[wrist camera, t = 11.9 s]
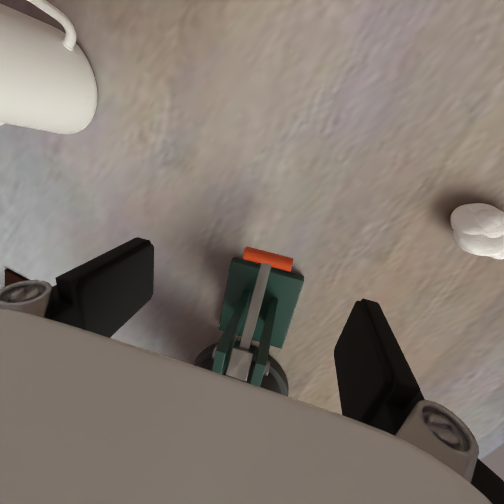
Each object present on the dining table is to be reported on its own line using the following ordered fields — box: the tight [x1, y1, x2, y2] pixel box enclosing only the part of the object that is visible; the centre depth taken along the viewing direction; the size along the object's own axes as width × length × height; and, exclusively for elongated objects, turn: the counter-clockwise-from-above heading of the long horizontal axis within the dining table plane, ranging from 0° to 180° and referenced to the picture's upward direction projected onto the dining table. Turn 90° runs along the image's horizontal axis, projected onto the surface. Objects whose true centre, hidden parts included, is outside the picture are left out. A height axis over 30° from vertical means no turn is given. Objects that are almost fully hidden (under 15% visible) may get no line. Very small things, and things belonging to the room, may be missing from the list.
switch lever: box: [226, 247, 293, 381], centre depth 25 cm, size 13×5×2 cm, turn 168°
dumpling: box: [451, 203, 504, 259], centre depth 24 cm, size 7×5×4 cm
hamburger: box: [5, 269, 28, 286], centre depth 43 cm, size 12×12×6 cm
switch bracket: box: [212, 258, 304, 387], centre depth 29 cm, size 12×10×13 cm
